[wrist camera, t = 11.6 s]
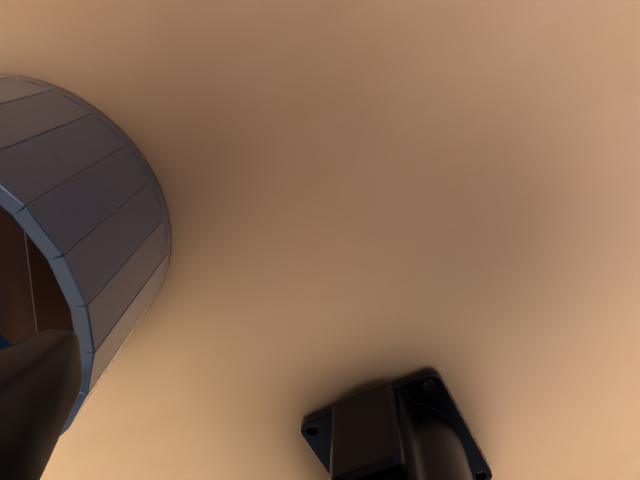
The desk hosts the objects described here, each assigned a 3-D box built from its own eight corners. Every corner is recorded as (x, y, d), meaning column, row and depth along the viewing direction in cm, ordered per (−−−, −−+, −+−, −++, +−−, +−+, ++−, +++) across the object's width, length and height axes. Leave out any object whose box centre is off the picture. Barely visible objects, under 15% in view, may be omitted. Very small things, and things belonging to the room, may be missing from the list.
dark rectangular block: (57, 313, 21) (100, 345, 20) (-1, 334, 20) (41, 371, 18) (40, 140, 19) (88, 161, 17) (-30, 148, 17) (16, 172, 15)
